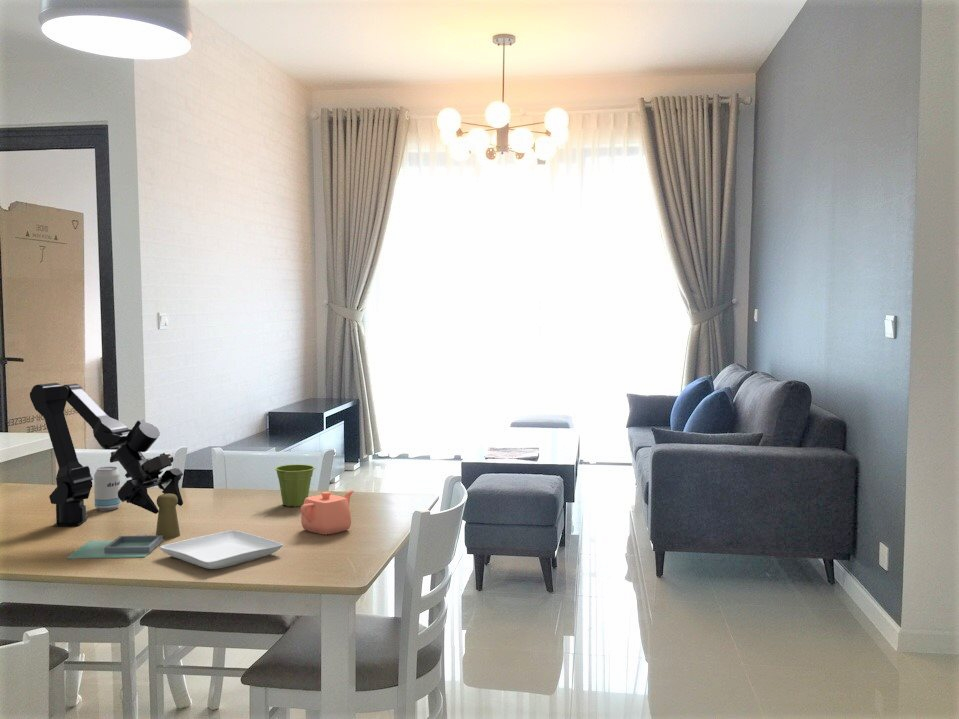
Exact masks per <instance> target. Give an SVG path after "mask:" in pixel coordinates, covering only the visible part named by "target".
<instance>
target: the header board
mask: <svg viewBox="0 0 959 719" xmlns="http://www.w3.org/2000/svg"><path fill="white" fill-rule="evenodd" d="M163 540H164V539H163V535H156V534H155V535H153V534H151V535H149V534H136V535H119V536H118V537H117V538H115V539H114V540H88V541H87V542H86V543H85V544H83V545H82V546H80V547H79V548H78V549H76V550H74V551H73V552H72V553H71V554H70V555H68V556H67V557H66V559H117V558H121V559H122V558H123V559H125V558H127V559H128V558H129V559H130V558H135V559H137V558H146V557H147V556H148V555H149V554H150V553H151V552H153V551H154V549H156V547H158V546H159V545H160V544H161V543H162V542H163Z"/></svg>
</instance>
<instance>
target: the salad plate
mask: <svg viewBox="0 0 959 719" xmlns="http://www.w3.org/2000/svg"><path fill="white" fill-rule="evenodd" d="M283 546H284V543H283V542H282V543H281V542H280V541H279V542H278V541H275V540H272V539H269V538H266V537H263V536H259V535H256V534H252V533H248V532H245V531H241V530H236V529H230V530H225V531H221V532H215V533H211V534H207V535H202V536H201V535H200V536H196V537H192V538H188V539H187V538H186V539H184V540H180V541H176V542H172V543H166V544H163V545H160V546H159V548H160V550H161V551H162V552H163V553H164V554H166V555H168V556H171V557H173V558H176V559H179V560H181V561H184V562H186V563H189V564H192V565H194V566H198V567H201V568H204V569H207V570H208V569H209V570H219V569H223V568H228V567H232V566H236V565H240V564H242V563H246V562H247V563H248V562H251V561H255V560H257V559H260V558H264V557H266V556H269V555H272V554H275V553H276V552H278V551H279V550H281V548H282V547H283Z"/></svg>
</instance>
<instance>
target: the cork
mask: <svg viewBox="0 0 959 719" xmlns="http://www.w3.org/2000/svg"><path fill="white" fill-rule="evenodd" d="M177 503H178V498H177V496H176V495H175V494H170V493H168V494H164V493H162V494H159V495H158V496H157V498H156V506H157V508H158V510H159V512H158V513H157V522H156V531H155V535H163V540H171V539H176V538H178V537H180V536H181V532H180V524H179V519H178V512H177V506H178V504H177Z"/></svg>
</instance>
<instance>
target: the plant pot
mask: <svg viewBox="0 0 959 719" xmlns="http://www.w3.org/2000/svg"><path fill="white" fill-rule="evenodd" d="M315 469H316V467H315V466H313V465H311V464H285V465H278V466H276V467H274V470H275V471H276V474H277V479H278V484H279V488H280V489H279V490H280V496H281V501H282V505H283V506H284V505H285V506H287V507H290V506H294V507H296V506H298V507H301V506H302V505H304V501H305V498H307V497H309V495H310V488H311V482H312V477H313V474H314V473H313V472H314V470H315Z"/></svg>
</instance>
